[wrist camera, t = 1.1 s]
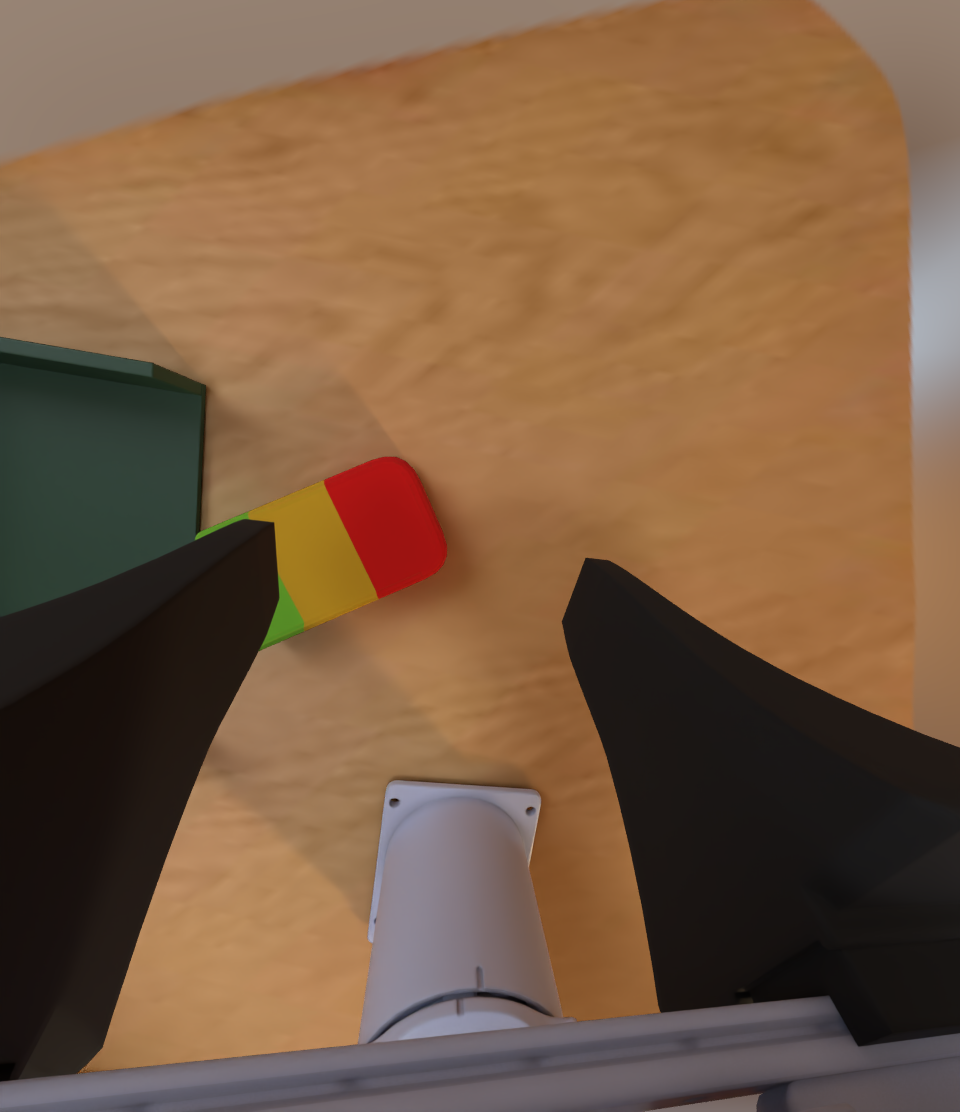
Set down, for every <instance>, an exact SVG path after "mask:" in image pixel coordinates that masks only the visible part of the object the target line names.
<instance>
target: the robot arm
mask: <svg viewBox="0 0 960 1112" xmlns="http://www.w3.org/2000/svg"><path fill="white" fill-rule="evenodd" d="M279 598H280V597H279V582H278V568H277V553H276V539H275V524H274V522H268V521H259V520H250V519H242V520H239V521H236V522H234V523H231V524H229V525H227V526H225V527H222V528H220V529H218V530H216V531H214V532H212V533H210V534H207V535H205V536H203V537H201V538H199V539H197V540H195V541H193V542H191V543H188V544H186V545H184V546H182V547H180V548H178V549H176V550H173V551H171V552H169V553H167V554H165V555H163V556H161V557H158V558H156V559H154V560H151V561H149V562H147V563H144V564H142V565H140V566H137V567H135V568H133V569H130V570H128V571H125V572H123V573H121V574H118V575H116V576H114V577H111V578H109V579H107V580H104V581H102V582H99V583H97V584H94V585H92V586H89V587H86V588H84V589H81V590H78V591H76V592H73V593H70V594H67V595H65V596H62V597H59V598H56V599H53V600H50V601H47V602H44V603H41V604H38V605H36V606H33V607H30V608H27V609H24V610H21V611H18V612H15V613H11V614H8V615H5V616H2V617H0V1112H644V1111H649V1110H655V1109H662V1108H668V1107H674V1106H682V1105H688V1104H695V1103H702V1102H708V1101H715V1100H722V1099H728V1098H735V1097H742V1096H748V1095H754V1094H761V1093H763V1094H761V1095H760V1096H759V1099H758V1102H757V1112H960V748H959V747H956V746H954V745H951V744H948V743H946V742H943V741H940V740H937V739H935V738H932V737H929V736H927V735H924V734H921V733H919V732H917V731H914V730H912V729H909V728H907V727H905V726H902V725H900V724H897V723H895V722H892V721H890V720H888V719H885V718H883V717H880V716H878V715H876V714H873V713H871V712H869V711H866V710H864V709H862V708H860V707H857V706H855V705H853V704H851V703H848V702H846V701H844V700H842V699H839V698H837V697H835V696H833V695H831V694H829V693H827V692H825V691H823V690H821V689H819V688H817V687H814V686H812V685H810V684H808V683H806V682H804V681H802V680H800V679H798V678H796V677H794V676H792V675H790V674H788V673H786V672H784V671H782V670H781V669H779V668H777V667H775V666H773V665H771V664H769V663H768V662H766V661H764V660H762V659H761V658H759V657H757V656H755V655H753V654H752V653H750V652H748V651H746V650H744V649H743V648H741V647H739V646H738V645H736V644H734V643H733V642H731V641H729V640H728V639H726V638H724V637H723V636H721V635H720V634H718V633H717V632H715V631H714V630H712V629H710V628H709V627H707V626H706V625H704V624H703V623H701V622H700V621H698V620H697V619H695V618H694V617H692V616H691V615H689V614H688V613H686V612H685V611H683V610H682V609H680V608H679V607H677V606H676V605H675V604H673V603H672V602H670V601H669V600H667V599H666V598H665V597H663V596H662V595H660V594H659V593H658V592H656V591H655V590H653V589H652V588H650V587H649V586H648V585H646V584H645V583H643V582H642V581H641V580H639V579H638V578H636V577H635V576H633V575H632V574H630V573H629V572H627V571H626V570H624V569H623V568H621V567H620V566H618V565H616V564H614V563H613V562H611V561H609V560H601V559H592V558H585V561H584V564H583V567H582V569H581V572H580V575H579V577H578V580H577V583H576V585H575V588H574V591H573V593H572V596H571V599H570V601H569V604H568V607H567V609H566V612H565V615H564V617H563V620H562V624H563V629H564V634H565V639H566V644H567V648H568V652H569V656H570V659H571V662H572V665H573V668H574V670H575V673H576V676H577V678H578V681H579V684H580V686H581V689H582V692H583V694H584V697H585V699H586V702H587V705H588V707H589V710H590V712H591V715H592V718H593V720H594V723H595V725H596V728H597V731H598V733H599V736H600V738H601V741H602V744H603V747H604V750H605V753H606V756H607V760H608V763H609V767H610V771H611V774H612V778H613V782H614V786H615V789H616V793H617V797H618V800H619V805H620V809H621V813H622V817H623V821H624V826H625V830H626V834H627V838H628V842H629V847H630V851H631V856H632V861H633V866H634V870H635V875H636V880H637V885H638V890H639V895H640V899H641V904H642V910H643V915H644V921H645V927H646V933H647V938H648V944H649V950H650V956H651V961H652V967H653V973H654V980H655V987H656V993H657V1000H658V1006H659V1009H660V1012H661V1013H656V1014H646V1015H637V1016H627V1017H617V1018H608V1019H598V1020H589V1021H579V1022H577V1020H576V1018H574V1017H563V1013H562V1009H561V1004H560V1000H559V996H558V991H557V987H556V983H555V978H554V974H553V970H552V966H551V961H550V957H549V953H548V948H547V944H546V940H545V935H544V931H543V927H542V922H541V918H540V914H539V909H538V905H537V901H536V896H535V892H534V888H533V883H532V879H531V875H530V870H529V864H530V859H531V854H532V848H533V843H534V838H535V833H536V827H537V822H538V817H539V812H540V806H541V797H540V794H539V793H538V792H537V791H536V790H533V789H521V788H507V787H492V786H477V785H462V784H447V783H433V782H418V781H403V780H394V781H392V782H390V783H389V784H388V785H387V788H386V794H385V802H384V809H383V817H382V825H381V833H380V841H379V849H378V857H377V865H376V873H375V881H374V889H373V897H372V905H371V912H370V920H369V928H368V940H369V941H370V942H371V943H373V944H372V951H371V958H370V964H369V971H368V978H367V985H366V992H365V998H364V1005H363V1012H362V1019H361V1025H360V1032H359V1039H358V1045H348V1046H339V1047H329V1048H320V1049H310V1050H300V1051H291V1052H281V1053H272V1054H262V1055H252V1056H243V1057H233V1058H224V1059H214V1060H204V1061H195V1062H185V1063H176V1064H166V1065H156V1066H147V1067H137V1068H128V1069H118V1070H108V1071H99V1072H89V1073H80V1074H77V1073H78V1072H79V1071H80V1070H81V1069H82V1068H83V1067H84V1066H85V1065H86V1064H88V1063H89V1062H90V1060H91V1059H92V1058H93V1057H94V1056H95V1055H96V1054H97V1053H98V1052H99V1051H100V1050H101V1049H102V1048H103V1044H104V1041H105V1038H106V1035H107V1032H108V1028H109V1025H110V1022H111V1019H112V1016H113V1012H114V1009H115V1006H116V1003H117V1000H118V997H119V994H120V991H121V988H122V985H123V982H124V979H125V976H126V973H127V970H128V967H129V964H130V961H131V958H132V955H133V952H134V949H135V946H136V942H137V939H138V936H139V933H140V930H141V928H142V925H143V922H144V919H145V916H146V913H147V911H148V908H149V905H150V902H151V899H152V896H153V894H154V891H155V888H156V885H157V882H158V879H159V877H160V874H161V871H162V868H163V865H164V862H165V860H166V857H167V854H168V852H169V849H170V846H171V844H172V841H173V838H174V836H175V833H176V830H177V828H178V825H179V822H180V820H181V817H182V814H183V812H184V809H185V807H186V804H187V801H188V799H189V796H190V794H191V791H192V789H193V786H194V784H195V781H196V779H197V776H198V774H199V771H200V769H201V766H202V764H203V761H204V759H205V756H206V754H207V751H208V749H209V747H210V745H211V743H212V740H213V738H214V736H215V734H216V732H217V730H218V728H219V726H220V724H221V722H222V720H223V718H224V716H225V714H226V712H227V711H228V709H229V707H230V705H231V703H232V701H233V699H234V697H235V695H236V693H237V692H238V690H239V688H240V686H241V684H242V682H243V680H244V678H245V676H246V675H247V673H248V671H249V669H250V667H251V665H252V663H253V661H254V659H255V657H256V655H257V653H258V651H259V650H260V648H261V646H262V644H263V642H264V640H265V638H266V635H267V633H268V630H269V627H270V625H271V622H272V619H273V616H274V613H275V610H276V607H277V604H278V601H279ZM393 798H396V799H398V800H399V801H396V802H394V801H392V800H391V799H393ZM528 807H533V808H532V809H531V810H527V808H528Z"/></svg>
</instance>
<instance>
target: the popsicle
mask: <svg viewBox="0 0 960 1112" xmlns="http://www.w3.org/2000/svg"><path fill="white" fill-rule="evenodd" d="M242 519H250V520H259V521H268V522H274V524H275V539H276V553H277V568H278V582H279V597H280V598H279V601H278V604H277V607H276V610H275V613H274V616H273V619H272V622H271V625H270V627H269V630H268V633H267V635H266V638H265V640H264V642H263V644H262V646H261V648H260V650H262V649H265V648H267V647H269V646H272V645H274V644H276V643H279V642H281V641H283V640H285V639H288V638H290V637H292V636H295V635H297V634H299V633H302V632H304V631H306V630H309V629H311V628H313V627H316V626H318V625H320V624H322V623H325V622H327V621H329V620H332V619H334V618H336V617H339V616H341V615H343V614H346V613H348V612H350V611H352V610H355V609H357V608H359V607H362V606H364V605H366V604H369V603H371V602H373V601H376V600H378V599H380V598H382V597H385V596H387V595H389V594H392V593H394V592H396V591H399V590H401V589H403V588H406V587H408V586H410V585H413V584H415V583H417V582H419V581H422V580H424V579H426V578H428V577H429V576H431V575H433V574H435V573H436V572H437V571H438V570H439V569H440V568H441V567H442V566H443V564H444V562H445V559H446V557H447V544H446V541H445V538H444V534H443V531H442V529H441V527H440V524H439V522H438V520H437V517H436V515H435V513H434V511H433V508H432V506H431V504H430V501H429V499H428V497H427V495H426V492H425V490H424V488H423V485H422V483H421V481H420V479H419V477H418V476H417V474H416V472H415V470H414V469H413V468H412V467H411V466H410V465H409V464H408V463H407V462H406V461H404V460H402V459H399V458H397V457H381V458H378V459H374V460H371V461H368V462H366V463H364V464H361V465H359V466H356V467H354V468H352V469H349V470H347V471H344V472H342V473H340V474H337V475H335V476H332V477H330V478H328V479H325V480H323V481H320V482H318V483H316V484H313V485H311V486H308V487H306V488H304V489H301V490H299V491H296V492H294V493H292V494H289V495H287V496H284V497H282V498H280V499H277V500H275V501H272V502H270V503H268V504H265V505H263V506H260V507H258V508H256V509H253V510H251V511H248V512H246V513H244V514H241V515H239V516H237V517H234V518H232V519H229V520H227V521H225V522H222V523H220V524H217V525H215V526H213V527H210V528H208V529H205V530H203V531H201V532H199V533H198V534H197V535H196V537H195V540H197V539H199V538H201V537H203V536H205V535H207V534H210V533H212V532H214V531H216V530H218V529H220V528H222V527H225V526H227V525H229V524H231V523H234V522H236V521H239V520H242ZM260 650H259V651H260Z"/></svg>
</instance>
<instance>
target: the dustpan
mask: <svg viewBox="0 0 960 1112" xmlns="http://www.w3.org/2000/svg"><path fill="white" fill-rule="evenodd" d="M205 394H206V385H204V384H201V383H199V382H196V381H194V380H192V379H189V378H187V377H185V376H182V375H180V374H177V373H175V372H173V371H170V370H168V369H166V368H163V367H161V366H159V365H156V364H154V363H150V362H144V361H139V360H133V359H127V358H121V357H115V356H109V355H103V354H98V353H92V352H86V351H80V350H74V349H68V348H62V347H57V346H51V345H45V344H39V343H33V342H27V341H21V340H16V339H10V338H4V337H0V617H2V616H5V615H8V614H11V613H15V612H18V611H21V610H24V609H27V608H30V607H33V606H36V605H38V604H41V603H44V602H47V601H50V600H53V599H56V598H59V597H62V596H65V595H67V594H70V593H73V592H76V591H78V590H81V589H84V588H86V587H89V586H92V585H94V584H97V583H99V582H102V581H104V580H107V579H109V578H111V577H114V576H116V575H118V574H121V573H123V572H125V571H128V570H130V569H133V568H135V567H137V566H140V565H142V564H144V563H147V562H149V561H151V560H154V559H156V558H158V557H161V556H163V555H165V554H167V553H169V552H171V551H173V550H176V549H178V548H180V547H182V546H184V545H186V544H188V543H191V542H193V541H195V537H196V535H197V534H198V533H199V526H200V504H201V482H202V460H203V438H204V416H205Z"/></svg>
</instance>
